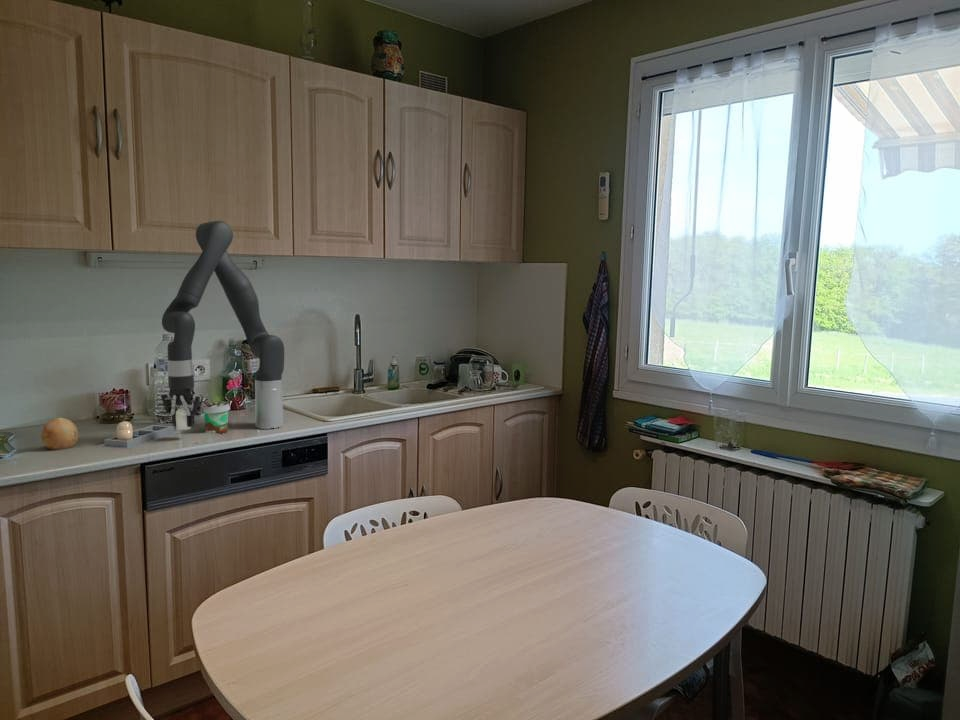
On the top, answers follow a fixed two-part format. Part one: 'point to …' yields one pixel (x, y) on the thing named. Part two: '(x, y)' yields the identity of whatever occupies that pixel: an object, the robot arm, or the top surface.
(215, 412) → the food container
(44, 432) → the onion
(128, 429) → the brown egg
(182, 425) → the white domed cylinder
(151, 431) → the carton
